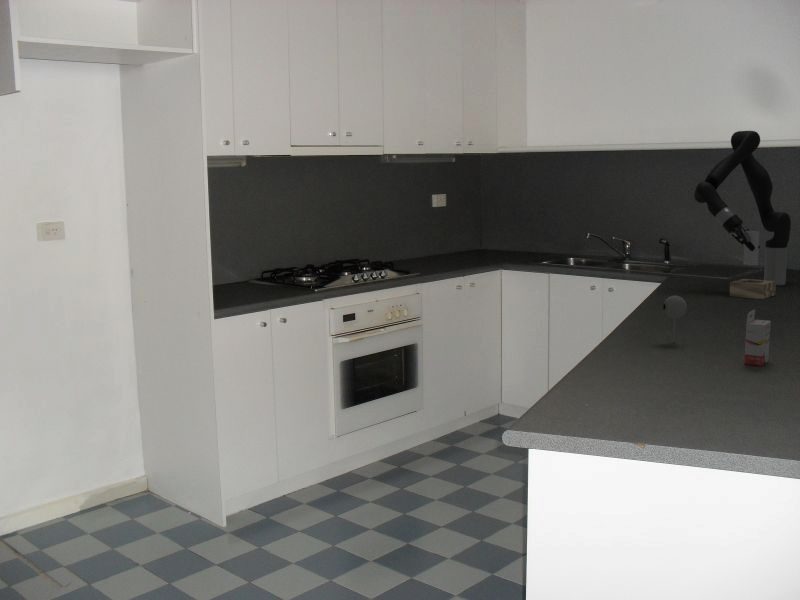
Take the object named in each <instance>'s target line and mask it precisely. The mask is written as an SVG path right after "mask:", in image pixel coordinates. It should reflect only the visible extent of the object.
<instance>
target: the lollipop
mask: <svg viewBox="0 0 800 600" xmlns="http://www.w3.org/2000/svg"><path fill="white" fill-rule="evenodd" d="M662 308H663V311H664V313H665V315H666V316H667V317H669V318H671V319H673V322H672V323H673V326H672V327H673V328H672V343H673V342H675V343H676V322H677V321H676V320H677V319H679V318H681V317H683V316H684V315H685V313H686V312H687V309H688V306H687V302H686V300H685V299H684V298H683V297H682V296H679V295H671V296H668V297H666V298H665V300H664V302H663V307H662Z"/></svg>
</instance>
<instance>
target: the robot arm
mask: <svg viewBox="0 0 800 600" xmlns="http://www.w3.org/2000/svg"><path fill="white" fill-rule="evenodd" d="M730 144H731V148H732V150H733V152H731V153H730V154H729V155H727V156H726V157H724V158H723V159H722V160H720V161H719V162H718V163H716V164H715V165H714V167H713V168H712V169H711V170H710V171H709V172H708V174H707V175H706V178H705V179H704V181H700V182H699V183H698V184H697V185H696V188H695V191H694V194H693V195H694V196H693V197H694V199H695V201H696V202H697V203H699V204H705V203H706V205H707V210H708V211H709V213H710V214H711V215H712V216H713V217H714V218H715V219H716V220H717V222H718V224H720V226H721V227H722V228H723V229H724V230H725V231H726V232H727V233H728V234H731V236H732V237H733V239H735V240H736V241H737V242H738V243H739V244H740V245H743V246H744V245H746V246H747V247H748V249H749V250H750V251H753V250H754V249H755V247H754V245H753V244H752V243H751V242H749V240H748V239H747V236H746V235H745V231H751V230H750V229H749V228H745V227H743V223H744V221H743V220H742V219H741V217H740V216H738V214H736V212H735V211H734V210H733V209H732V208H730V207H729V205H728V204H727V203H725V201H724V200H723V199H722V197H721V196H720V194H719V193H718V188H719V187H720V186H721V184H722V183H723V182H725V180H726V179H727V178H728V176H730V174H731V173H732V172H733V171H734V170H735V169H736V168H737V167H738V166H739V165H740V166H741V168H742V170H743V173H744V175H745V178H746V181H747V184H748V186H749V189H750V191H751V193H752V195H753V198H754V201H755V204H756V207H757V209H758V214H759V218H760V221H761V224H762V227H763V229H764V230H765V231H766V232H769V233H773V236H772V238H771V239H768V240H766V241H765V248H764V250H765V251H764V271H763V274H764V275H763V280H767V281H776V286H785V285H786V280H787V258H788V257H787V255H788V243H789V241H790V236H791V226H792V222H791V217H790V214H788V213H787V212H783V211H782V212H781V211H780V212H779V211H775V210H774V208H773V205H772V203H771V201H772V200H771V197H772V193H773V188H774V187H773V186H774V185H773V182H772V179H771V177H770V174H769V172H768V171H767V168H765V167H764V166H763V165H762V164H761V163H760V162H759V161H758V160H757V159H756V158H755V156H754V154H753V153H754V152H755V151H756V150H757V149H758V148H759V146H760V144H761V137H760V134H759V133H758V132H757V131H755V130H739V131H735V132H733V134H732V135H731V138H730ZM760 248H761V246H760V245H759V249H760Z"/></svg>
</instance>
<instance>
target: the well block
mask: <svg viewBox="0 0 800 600" xmlns="http://www.w3.org/2000/svg"><path fill="white" fill-rule="evenodd" d="M776 286H777V285H776V281H767V280H764V279H763V280H762V279H753V278H752V279H750V278H740V279H737V280H734V281H730V282H729V297H733V298H734V297H735V298H746V299H747V298H748V299H758V300H764V299H767V298H771V297H773V296H775V295H776Z"/></svg>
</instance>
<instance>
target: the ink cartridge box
mask: <svg viewBox="0 0 800 600" xmlns="http://www.w3.org/2000/svg"><path fill="white" fill-rule="evenodd" d="M755 315H756V309H752V310H751V311H749V312H748V313H747V316H746V323H745V341H744V342H745V343H744V365H749V366H750V365H752V366H756V367H757V366H758V367H759V366H760V367H762V366H764V365H765V364H766V363H767V362H768V361H769V355H770V354H769V353H770V342H771V341H770V340H771V338H770V337H771V323H772V320H765V319H763V320H762V319H755Z"/></svg>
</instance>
